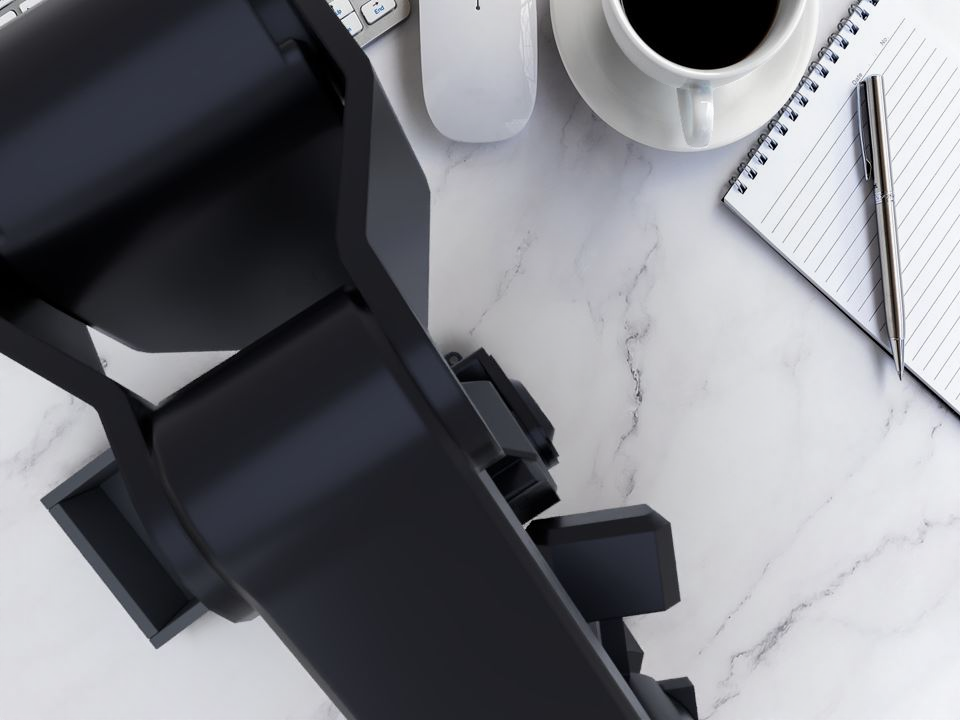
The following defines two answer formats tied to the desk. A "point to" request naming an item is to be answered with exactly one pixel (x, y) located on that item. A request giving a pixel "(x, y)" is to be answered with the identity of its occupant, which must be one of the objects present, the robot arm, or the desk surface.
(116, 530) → the waste bin
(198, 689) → the desk surface
